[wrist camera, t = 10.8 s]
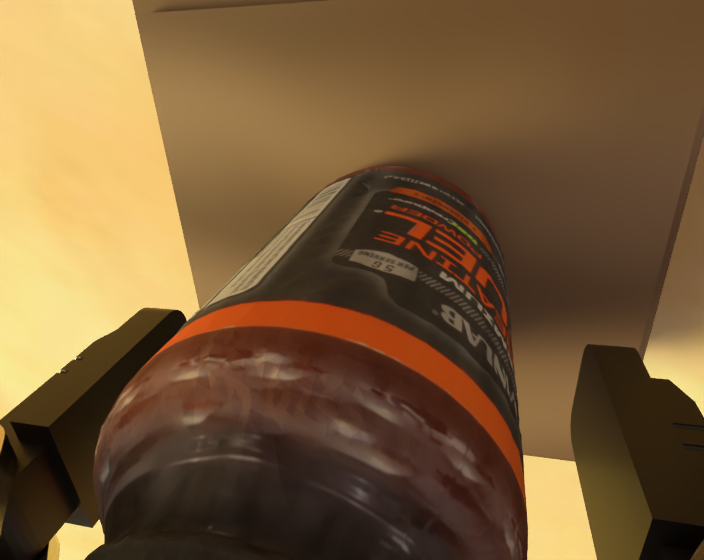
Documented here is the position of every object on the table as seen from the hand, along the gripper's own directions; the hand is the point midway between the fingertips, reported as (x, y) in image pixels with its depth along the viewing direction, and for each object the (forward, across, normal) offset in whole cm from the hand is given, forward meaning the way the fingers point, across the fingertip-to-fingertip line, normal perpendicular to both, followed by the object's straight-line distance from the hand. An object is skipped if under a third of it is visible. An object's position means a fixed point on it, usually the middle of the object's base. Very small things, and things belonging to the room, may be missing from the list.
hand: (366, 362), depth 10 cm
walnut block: (+12, 0, 0) cm, 12 cm away
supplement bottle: (+5, 0, 0) cm, 5 cm away
